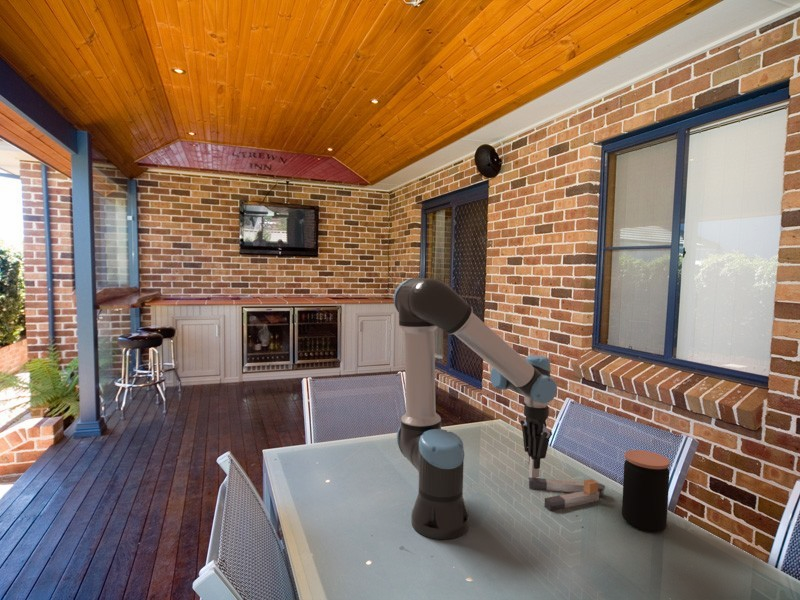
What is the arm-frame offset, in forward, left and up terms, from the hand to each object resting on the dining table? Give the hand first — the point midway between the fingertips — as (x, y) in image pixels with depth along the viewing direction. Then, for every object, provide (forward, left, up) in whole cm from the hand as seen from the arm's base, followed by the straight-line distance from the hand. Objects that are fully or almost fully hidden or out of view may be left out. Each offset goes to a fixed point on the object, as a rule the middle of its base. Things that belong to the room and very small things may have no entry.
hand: (533, 476), depth 145 cm
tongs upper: (+4, -7, -1) cm, 8 cm away
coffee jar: (+13, -30, -2) cm, 33 cm away
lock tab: (+8, -16, +1) cm, 18 cm away
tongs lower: (+4, -15, -1) cm, 15 cm away
